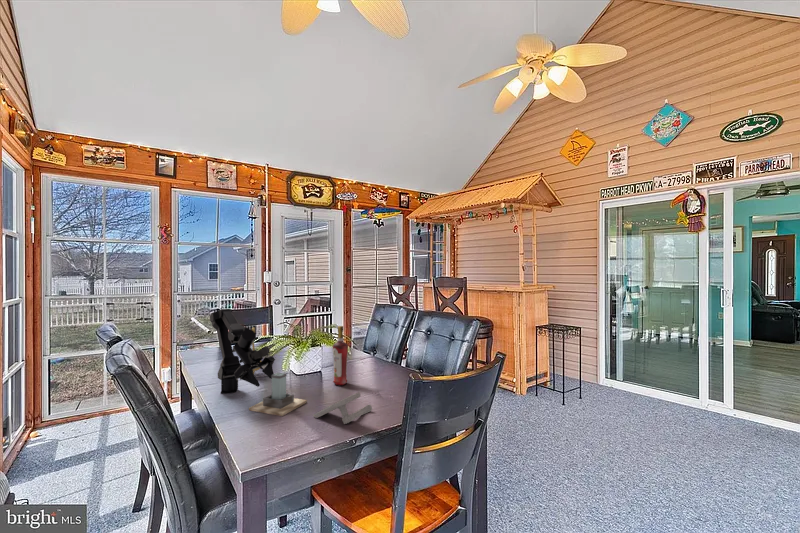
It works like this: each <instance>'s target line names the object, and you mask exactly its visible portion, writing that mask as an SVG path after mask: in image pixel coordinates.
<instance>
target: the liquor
mask: <svg viewBox="0 0 800 533" xmlns="http://www.w3.org/2000/svg"><path fill="white" fill-rule="evenodd" d="M343 332H344V325H338V326H337V342H334V344H333V345H332V357H333V381H332V382H333V384H334V385H335V386H345V385H346V384H347V383H348V380H347V376H348V375H347V372H348V353H349V352H348V351H349V344H348V343H347V342H344V334H343Z"/></svg>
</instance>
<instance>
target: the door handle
mask: <svg viewBox="0 0 800 533" xmlns="http://www.w3.org/2000/svg"><path fill="white" fill-rule="evenodd" d="M360 397H361V392H360V391H359V392H356V393H354V394H351V395H350V396H349V395H348V397H345V398H343V399H341V400H339V401H337V402H336V403H333V404H331V405H330V406H328V407H326V408H324V409H322V410H320V411H318V412H316V413H314V414H313V415H312V416H313V417H314V418H315V419H317V418H320V417H322V416H324V415H326V414H328V413H329V414H330V413H331V412H333V411H335V410H337V409H338V410H339V411H340V414H341V416H342V418H341V420H342V423H343V424H344V425H347V424H349V423H351V422H352V421H353V420H355V419H357V418H359V417H360V416H364V415H365V414H368V413H369V412H371V411H373V407H372V404H367V405H365V406H363V407H362V408H360V409H359V410H358V409H357V411H355V412H352V413H350V414H349V412H348V410H347V407H346V406H347V404H349V403H350V402H353V401H355V400H356V399H359V398H360Z"/></svg>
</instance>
